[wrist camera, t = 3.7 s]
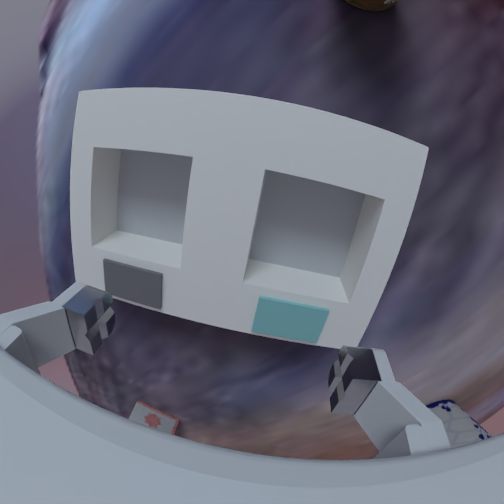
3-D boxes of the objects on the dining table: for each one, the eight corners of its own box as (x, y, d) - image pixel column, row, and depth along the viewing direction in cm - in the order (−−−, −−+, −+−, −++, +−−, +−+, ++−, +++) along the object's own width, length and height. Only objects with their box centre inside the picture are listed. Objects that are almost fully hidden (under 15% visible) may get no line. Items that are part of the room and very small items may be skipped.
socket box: (399, 144, 19) (431, 147, 14) (344, 315, 25) (355, 353, 20) (114, 96, 19) (76, 90, 14) (104, 262, 25) (74, 287, 20)
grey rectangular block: (173, 428, 36) (156, 478, 27) (134, 409, 35) (111, 458, 26) (179, 419, 35) (161, 474, 25) (137, 399, 34) (112, 452, 25)
